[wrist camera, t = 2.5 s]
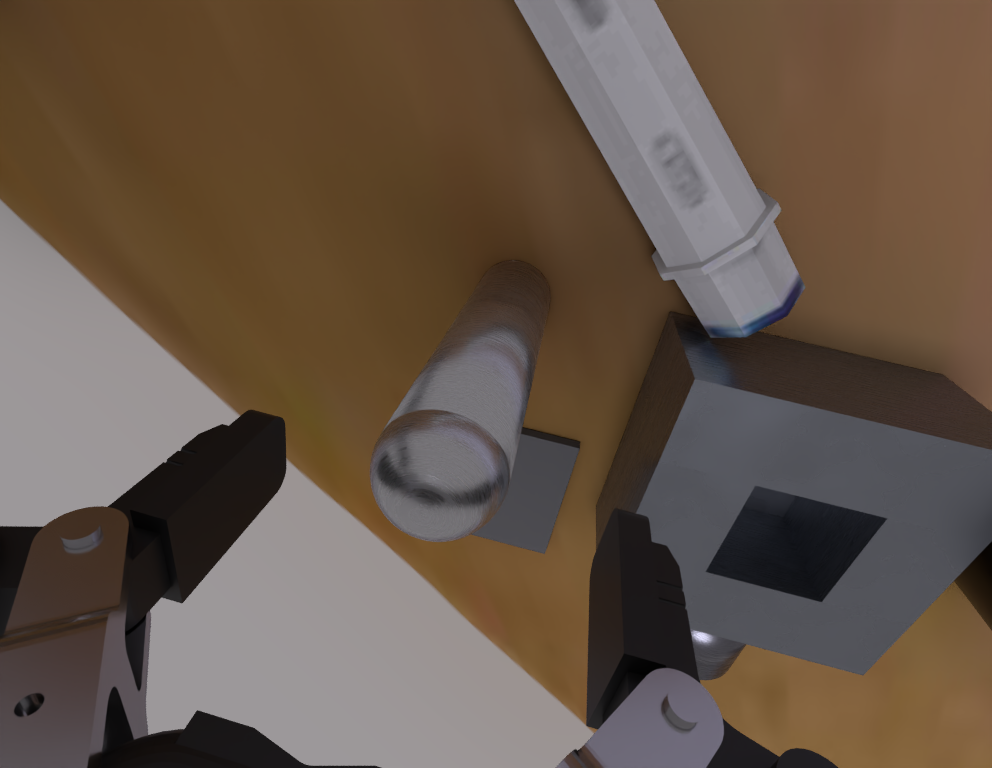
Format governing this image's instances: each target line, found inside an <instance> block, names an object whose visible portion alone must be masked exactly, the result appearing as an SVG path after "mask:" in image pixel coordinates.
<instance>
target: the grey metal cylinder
mask: <svg viewBox="0 0 992 768" xmlns="http://www.w3.org/2000/svg"><path fill="white" fill-rule="evenodd" d="M550 298H551V295H550V288H549V285H548V283H547V281H546V279H545V277H544V276H543V274H542V273H541V272H540V271H539V270H538V269H536V268H535V267H534V266H532V265H530V264H528V263H526V262H522V261H517V260H510V261H504V262H501V263H498V264H496V265H494V266H493V267H491V268H490V269H489V270H488V271H487V272H486V273H485V275H484V276H483V277H482V279H481V281H480V282H479V284H478V285H477V287H476V288H475V290H474V291H473V293H472V294H471V296H470V297H469V299H468V301H467V302H466V304H465V305H464V307H463V308H462V310H461V311H460V313H459V314H458V316H457V317H456V319H455V320H454V322H453V324H452V325H451V327H450V328H449V330H448V331H447V333H446V334H445V336H444V337H443V339H442V340H441V342H440V344H439V345H438V347H437V348H436V350H435V351H434V353H433V354H432V356H431V357H430V359H429V360H428V362H427V364H426V365H425V367H424V368H423V370H422V371H421V373H420V374H419V376H418V377H417V379H416V380H415V382H414V383H413V385H412V387H411V388H410V390H409V391H408V393H407V394H406V396H405V397H404V399H403V400H402V402H401V403H400V405H399V407H398V408H397V410H396V411H395V413H394V414H393V416H392V417H391V419H390V420H389V422H388V423H387V425H386V427H385V428H384V430H383V431H382V433H381V435H380V436H379V438H378V440H377V442H376V444H375V447H374V450H373V453H372V457H371V464H370V480H371V486H372V491H373V494H374V497H375V499H376V502H377V504H378V506H379V507H380V509H381V511H382V512H383V513H384V515H385V516H386V517H387V519H388V520H389V521H390V522H391V523H392V524H393V525H395V526H396V527H397V528H398V529H400V530H402V531H403V532H405V533H407V534H409V535H411V536H413V537H416V538H419V539H422V540H426V541H433V542H445V541H452V540H457V539H460V538H463V537H466V536H468V535H470V534H472V533H474V532H476V531H477V530H479V529H480V528H482V527H483V526H484V525H486V524H487V523H488V522H489V521H490V520H491V519H492V518H493V516H494V515H495V514H496V513H497V511H498V510H499V508H500V507H501V505H502V503H503V501H504V499H505V497H506V494H507V491H508V488H509V484H510V480H511V475H512V471H513V466H514V462H515V457H516V453H517V448H518V444H519V440H520V435H521V431H522V426H523V422H524V417H525V413H526V408H527V404H528V399H529V395H530V390H531V386H532V381H533V377H534V372H535V368H536V364H537V359H538V355H539V350H540V346H541V341H542V337H543V332H544V328H545V323H546V319H547V314H548V310H549V305H550Z"/></svg>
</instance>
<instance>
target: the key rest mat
mask: <svg viewBox="0 0 992 768" xmlns="http://www.w3.org/2000/svg"><path fill="white" fill-rule="evenodd" d="M579 449H580V442H578V441H574V440H570V439H566V438H562V437H558V436H554V435H550V434H546V433H542V432H538V431H534V430H530V429H526V428H522V431H521V435H520V440H519V444H518V448H517V453H516V457H515V462H514V466H513V471H512V475H511V480H510V484H509V488H508V491H507V494H506V497H505V499H504V501H503V503H502V505H501V507H500V508H499V510H498V511H497V513H496V514H495V515H494V516H493V518H492V519H491V520H490V521H489V522H488V523H487V524H486V525H484V526H483V527H482V528H480V529H479V530H477V531H476V532H474V533H472V535H475V536H479V537H483V538H487V539H491V540H494V541H498V542H502V543H506V544H510V545H513V546H517V547H521V548H525V549H528V550H532V551H536V552H540V553H544V554H545V551H546V548H547V545H548V542H549V539H550V536H551V533H552V530H553V527H554V524H555V521H556V518H557V515H558V512H559V509H560V506H561V503H562V500H563V497H564V494H565V491H566V488H567V485H568V482H569V479H570V476H571V473H572V470H573V467H574V464H575V461H576V458H577V455H578V452H579Z"/></svg>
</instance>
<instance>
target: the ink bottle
mask: <svg viewBox="0 0 992 768" xmlns="http://www.w3.org/2000/svg"><path fill="white" fill-rule="evenodd" d="M954 581H955V583H956V584H957V585H958V587H959V588H960V589H961V591H962V592H963V593H964V595H965V596H966V597H967V598H968V600H969V601H970V602H971V604H972V605H973V606H974V608H975V609H976V610H977V612H978V613H979V614H980V616H981V617H982V618H983V620H984V621H985V622H986V624H987V625H988V626H989V628H990V629H991V630H992V541H991V542H990V544H989V545H988V546H987V547H986V548H985V549H984V550H983V551H982V552H981V553H980V554H979V555H978V556H977V557H976V558H975V559H974V560H973V561H972V562H971V563H970V564H969V565H968V566H967V568H966V569H965V570H964V571H963V572H962V573H961V574H960V575H959V576H958V577H957V578H956V579H955V580H954Z"/></svg>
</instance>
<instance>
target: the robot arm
mask: <svg viewBox="0 0 992 768" xmlns="http://www.w3.org/2000/svg"><path fill="white" fill-rule="evenodd" d="M285 473H286V436H285V422H284V420H283V418H281V417H278V416H274V415H270V414H266V413H263V412H259V411H255V410H248V411H246V412H245V413H244V414H242V415H241V416H240V417H239V418H238V419H237V420H235V421H234V422H233V423H232V424H231V425H229V426H227V425H223V424H222V425H219V426H217V427H214V428H212V429H210V430H208V431H205V432H203V433H200V434H198V435H197V436H196V437H195V438H194V439H192V440H191V441H190V442H188V443H187V444H186V445H185V446H183V447H182V449H181V451H177V452H176V453H175V454H173V455H172V456H171V457H170V458H168V459H167V462H166V463H164V462H163V463H162V464H161V465H160V466H158V467H157V468H156V469H155V470H154V471H152V472H151V473H150V474H148V475H147V476H146V477H145V478H143V479H142V480H141V481H139V482H138V483H137V484H136V485H134V486H133V487H132V488H131V489H130V490H129V491H127V492H126V493H125V494H123V495H122V496H121V497H120V498H118V499H117V500H116V501H114V502H113V503H112V504H111V505H109V506H108V507H88V508H83V509H79V510H75V511H72V512H69V513H66V514H64V515H62V516H60V517H58V518H56V519H54V520H53V521H51V522H49V523H48V524H47V525H46V526H44V527H7V526H6V527H3V526H1V527H0V768H380V767H377V766H309V765H305V764H303V763H301V762H299V761H298V760H297V759H295V758H294V757H293V756H291V755H290V754H289V753H287V752H286V751H284V750H283V749H282V748H280V747H279V746H278V745H276V744H275V743H274V742H272V741H271V740H269V739H268V738H267V737H266V736H264V735H263V734H261V733H260V732H259V731H257V730H256V729H255V728H252V727H249V726H246V725H243V724H240V723H236V722H233V721H229V720H227V719H224V718H220V717H217V716H214V715H210V714H208V713H204V712H201V711H196V713H195V714H194V716H193V717H192V719H191V720H190V722H189V723H188V725H187V726H186V728H185V729H178V730H171V731H163V732H159V733H155V734H151V735H148V725H147V716H146V691H147V675H148V659H149V658H148V657H149V643H150V628H151V613H150V609H151V608H152V607H153V606H154V605H155V604H156V603H157V602H158V601H159V599H160V598H161V597H163V598H166V599H169V600H173V601H176V602H180V603H183V602H184V601H185V600H186V598H187V597H188V596H189V595H190V594H191V593H192V591H193V590H194V589H195V588H196V587H197V586H198V584H199V583H200V582H201V581H202V580H203V579H204V577H205V576H206V575H207V574H208V573H209V571H210V570H211V569H212V568H213V567H214V566H215V564H216V563H217V562H218V561H219V560H220V559H221V557H222V556H223V555H224V554H225V553H226V552H227V550H228V549H229V548H230V547H231V546H232V545H233V543H234V542H235V541H236V540H237V539H238V538H239V536H240V535H241V534H242V533H243V531H244V530H245V529H246V528H247V527H248V526H249V525H250V523H251V522H252V521H253V520H254V519H255V518H256V516H257V515H258V514H259V513H260V512H261V510H262V509H263V508H264V507H265V506H266V505H267V503H268V502H269V501H270V500H271V499H272V498H273V496H274V495H275V494H276V493H277V492H278V490H279V488H280V487H281V485H282V482H283V480H284V477H285ZM682 590H683V584H682V578H681V573H680V567H679V565H678V563H677V562H676V560H675V558H674V557H673V555H672V553H671V552H670V550H669V548H668V547H667V546H666V545H662V544H659V543H655V542H652V539H651V530H650V522H649V518H648V517H647V516H644V515H640V514H636V513H632V512H629V511H625V510H621V509H617V508H615V509H614V510H613V511H612V513H611V516H610V518H609V521H608V523H607V526H606V528H605V530H604V533H603V535H602V538H601V540H600V543H599V545H598V548H597V550H596V553H595V556H594V559H593V563H592V568H591V574H590V592H589V635H588V678H587V722H586V726H588V727H592V728H595V729H598V730H597V731H596V732H595V733H594V735H593V736H592V737H591V738H590V739H589V740H588V741H587V743H585V745H584V746H583V747H582V748H580V749H579V750H578V751H577V750H573V751H572V752H571V753H570V754H569V755H567V756H566V757H565V758H564V759H563V760H562V761H561V763H560V764H559V765H558V766H557V767H556V768H838V767H837V766H836V765H834V764H833V763H832V762H830V761H829V760H828V759H826V758H824V757H823V756H821V755H819V754H817V753H815V752H813V751H810V750H806V749H799V748H795V749H790V750H788V751H786V752H784V753H783V754H782V755H781V756H780V757H779V756H777V755H775V754H774V753H772V752H771V751H769V750H767V749H766V748H764V747H762V746H761V745H759V744H758V743H756V742H754V741H753V740H751V739H750V738H748V737H746V736H745V735H743V734H742V733H740V732H739V731H737V730H736V729H734V728H733V727H732V726H731V725H730V724H728V723H727V722H726V721H725V720H724V719H723V718H722V716H721V713H720V710H719V708H718V706H717V704H716V702H715V701H714V699H713V698H712V696H711V695H710V694H709V692H708V691H707V690H706V689H705V688H704V687H703V686H702V685H701V684H700V680H699V676H698V670H697V665H696V659H695V653H694V647H693V642H692V636H691V630H690V624H689V619H688V613H687V609H685V608H686V601H685V596H684V592H683V591H682Z"/></svg>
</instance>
